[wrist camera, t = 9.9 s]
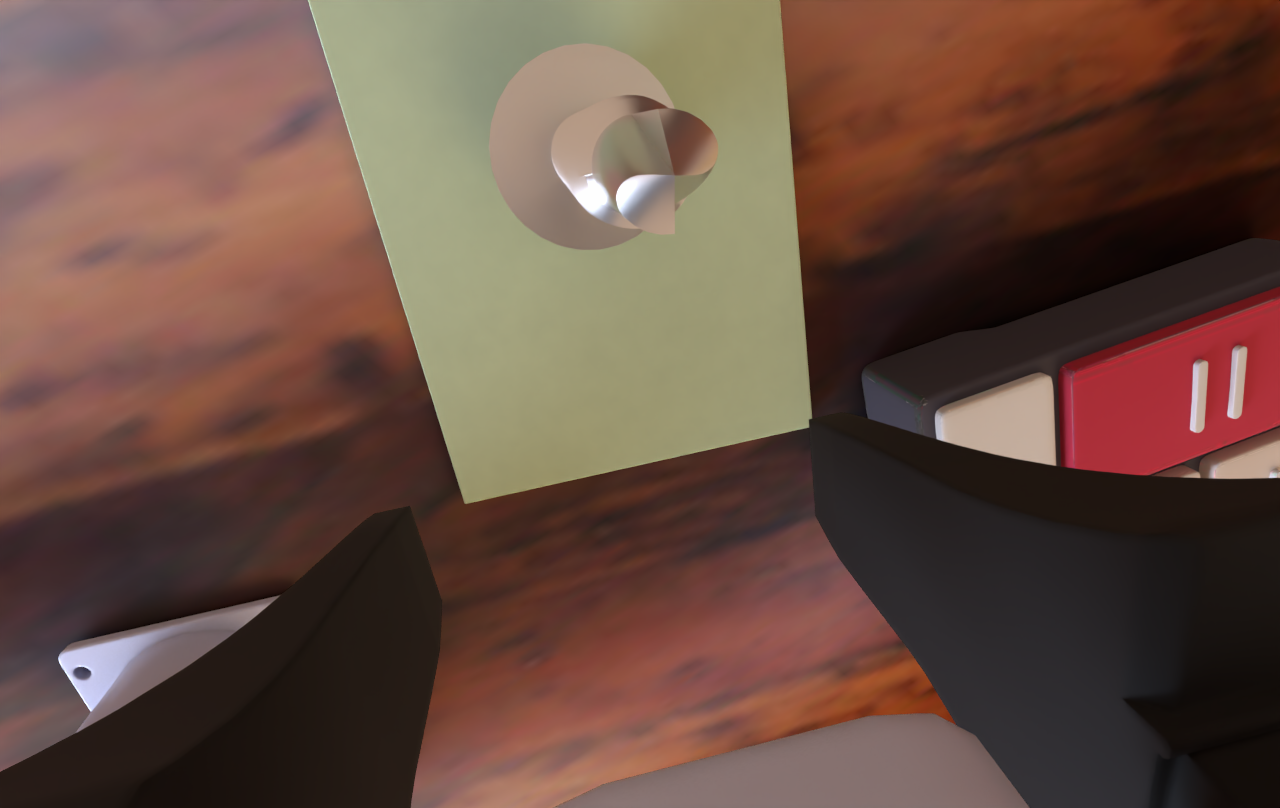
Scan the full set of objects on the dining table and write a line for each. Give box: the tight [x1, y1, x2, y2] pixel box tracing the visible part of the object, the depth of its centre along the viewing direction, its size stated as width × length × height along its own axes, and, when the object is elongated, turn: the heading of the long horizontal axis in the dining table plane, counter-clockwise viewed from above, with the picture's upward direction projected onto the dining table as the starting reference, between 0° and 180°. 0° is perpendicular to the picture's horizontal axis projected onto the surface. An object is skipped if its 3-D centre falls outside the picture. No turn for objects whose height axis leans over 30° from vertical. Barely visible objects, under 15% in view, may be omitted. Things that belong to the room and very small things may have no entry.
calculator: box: [862, 238, 1280, 479], centre depth 24 cm, size 11×4×15 cm
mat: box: [308, 0, 812, 504], centre depth 19 cm, size 20×12×1 cm, turn 10°
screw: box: [489, 43, 718, 250], centre depth 13 cm, size 13×5×5 cm
